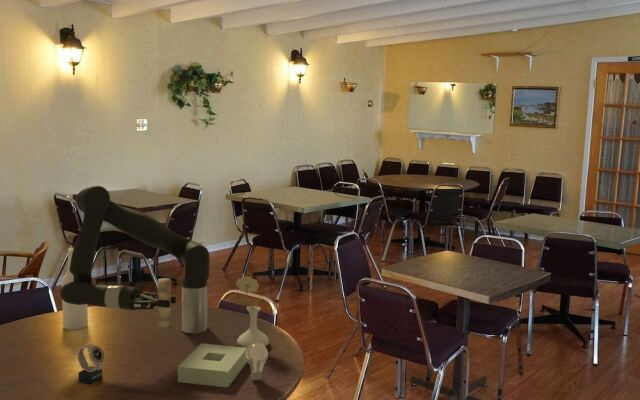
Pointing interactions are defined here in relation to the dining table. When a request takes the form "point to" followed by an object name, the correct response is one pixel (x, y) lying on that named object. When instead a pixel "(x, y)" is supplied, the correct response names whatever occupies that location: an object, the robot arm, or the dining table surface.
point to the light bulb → (256, 359)
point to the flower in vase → (252, 333)
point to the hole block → (212, 365)
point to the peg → (164, 312)
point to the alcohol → (73, 305)
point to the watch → (90, 373)
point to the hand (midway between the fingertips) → (172, 301)
